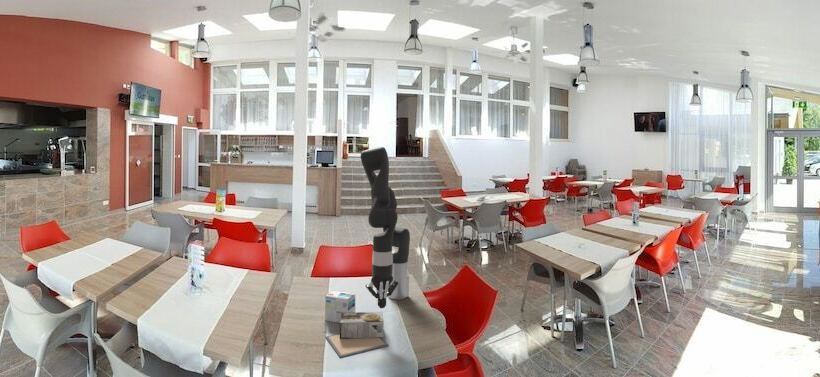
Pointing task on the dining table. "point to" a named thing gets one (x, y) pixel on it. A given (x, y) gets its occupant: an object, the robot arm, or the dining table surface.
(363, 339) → the mat
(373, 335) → the coffee box
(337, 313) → the light bulb box
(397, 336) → the dining table surface
